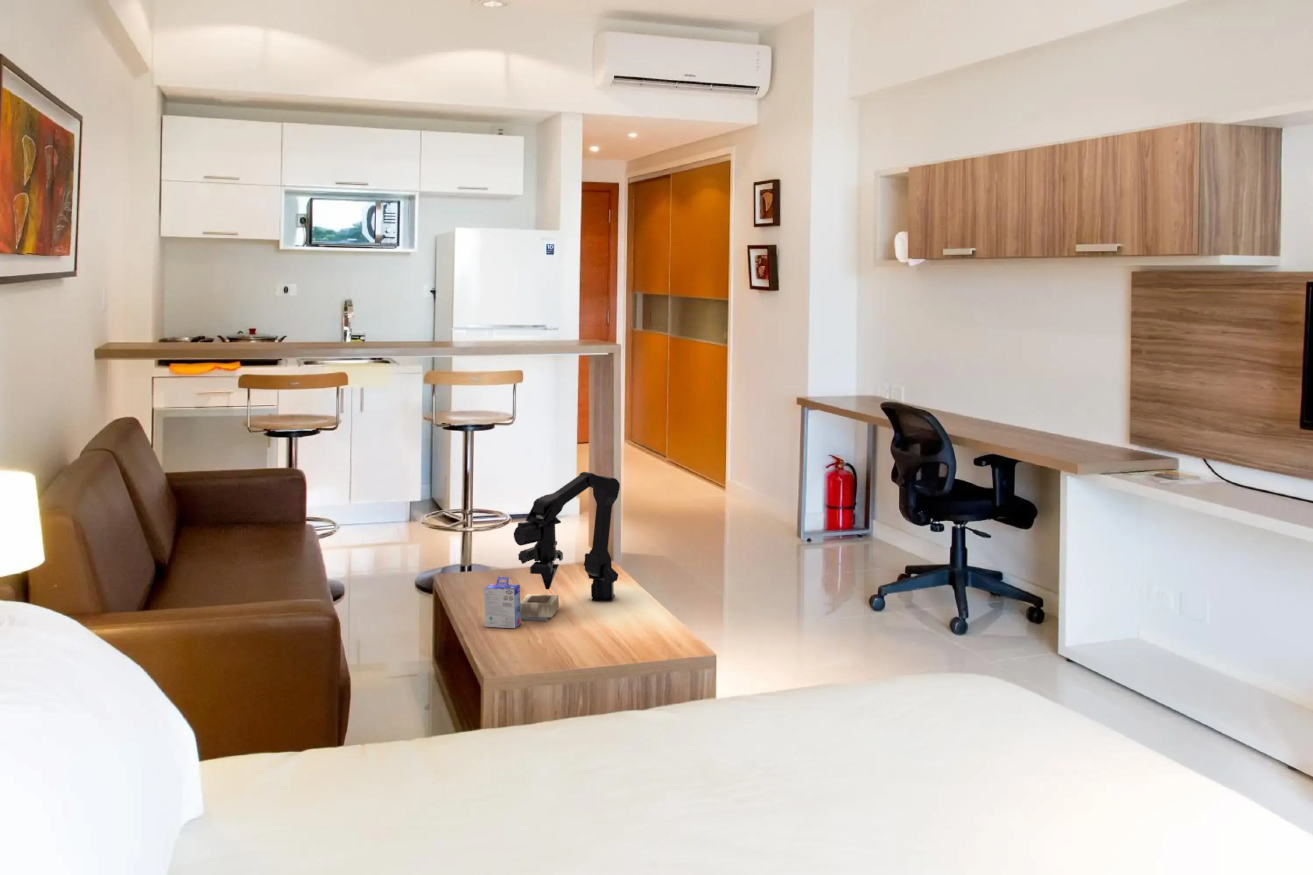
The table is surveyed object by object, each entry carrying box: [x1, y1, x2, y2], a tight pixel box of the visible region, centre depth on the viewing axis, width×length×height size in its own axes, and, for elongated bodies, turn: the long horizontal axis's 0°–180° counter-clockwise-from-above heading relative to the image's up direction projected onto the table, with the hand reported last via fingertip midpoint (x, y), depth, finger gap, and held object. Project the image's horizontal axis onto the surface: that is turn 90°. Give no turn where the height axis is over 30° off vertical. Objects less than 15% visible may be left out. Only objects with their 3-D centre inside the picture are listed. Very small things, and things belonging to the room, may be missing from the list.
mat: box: [521, 617, 550, 622], centre depth 360 cm, size 11×14×1 cm
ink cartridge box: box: [483, 576, 522, 629], centre depth 348 cm, size 10×6×14 cm, turn 78°
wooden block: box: [520, 594, 560, 618], centre depth 360 cm, size 4×10×10 cm
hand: (547, 588), depth 358 cm, fingers closed
